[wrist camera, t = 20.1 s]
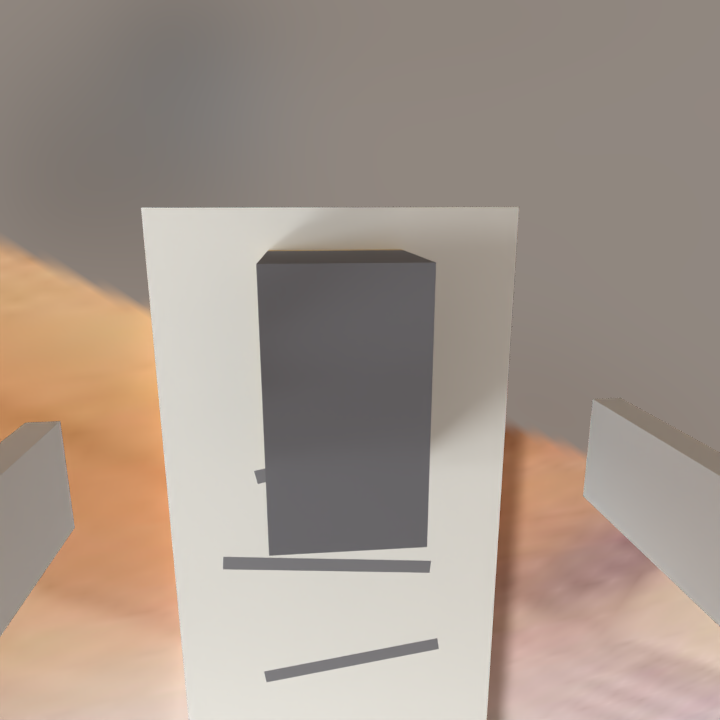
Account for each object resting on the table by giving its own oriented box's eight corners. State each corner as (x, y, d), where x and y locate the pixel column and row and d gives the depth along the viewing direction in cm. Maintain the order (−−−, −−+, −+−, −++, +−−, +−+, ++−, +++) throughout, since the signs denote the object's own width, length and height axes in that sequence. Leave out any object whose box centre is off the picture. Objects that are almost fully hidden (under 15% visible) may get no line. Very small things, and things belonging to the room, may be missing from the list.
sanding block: (276, 472, 24) (268, 555, 18) (268, 250, 22) (256, 264, 16) (397, 467, 24) (427, 547, 19) (400, 249, 22) (436, 262, 16)
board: (206, 848, 30) (203, 874, 29) (149, 208, 22) (141, 207, 21) (472, 821, 31) (478, 845, 30) (508, 207, 23) (519, 206, 22)
